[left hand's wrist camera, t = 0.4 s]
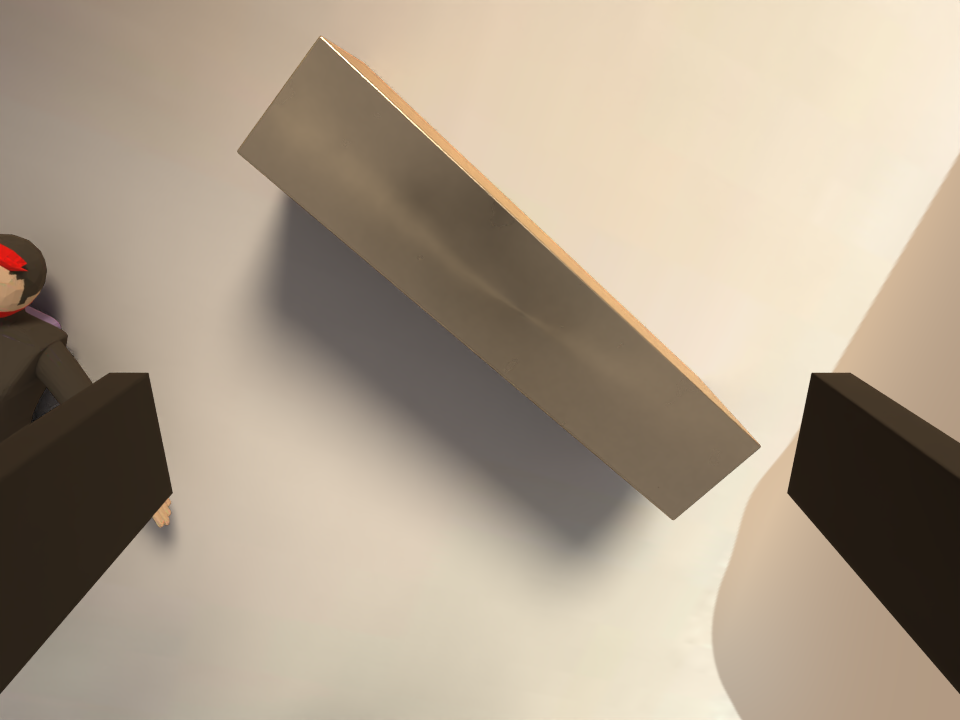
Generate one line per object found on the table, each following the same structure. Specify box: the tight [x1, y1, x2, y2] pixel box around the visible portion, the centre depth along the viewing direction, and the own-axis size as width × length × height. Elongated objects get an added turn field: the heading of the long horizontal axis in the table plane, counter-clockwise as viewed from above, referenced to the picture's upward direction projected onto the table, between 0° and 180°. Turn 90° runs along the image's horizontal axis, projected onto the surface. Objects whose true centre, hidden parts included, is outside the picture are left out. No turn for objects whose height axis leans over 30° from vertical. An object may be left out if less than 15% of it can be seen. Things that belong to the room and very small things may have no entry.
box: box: [237, 36, 761, 520], centre depth 32 cm, size 27×6×9 cm, turn 48°
